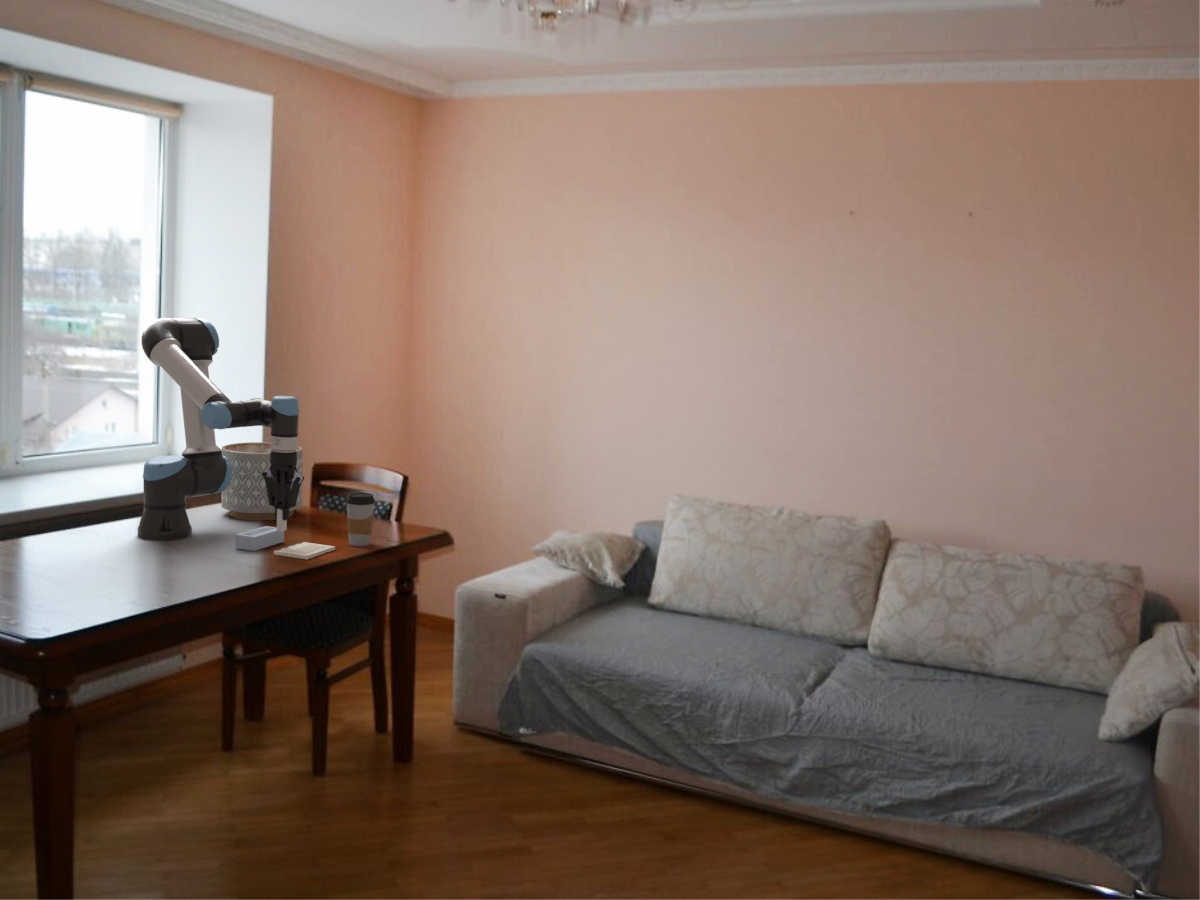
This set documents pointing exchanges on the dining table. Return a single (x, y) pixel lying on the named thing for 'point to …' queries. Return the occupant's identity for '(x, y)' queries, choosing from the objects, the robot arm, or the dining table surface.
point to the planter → (252, 481)
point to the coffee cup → (360, 518)
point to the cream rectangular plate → (304, 550)
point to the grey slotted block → (259, 538)
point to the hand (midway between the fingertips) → (281, 530)
